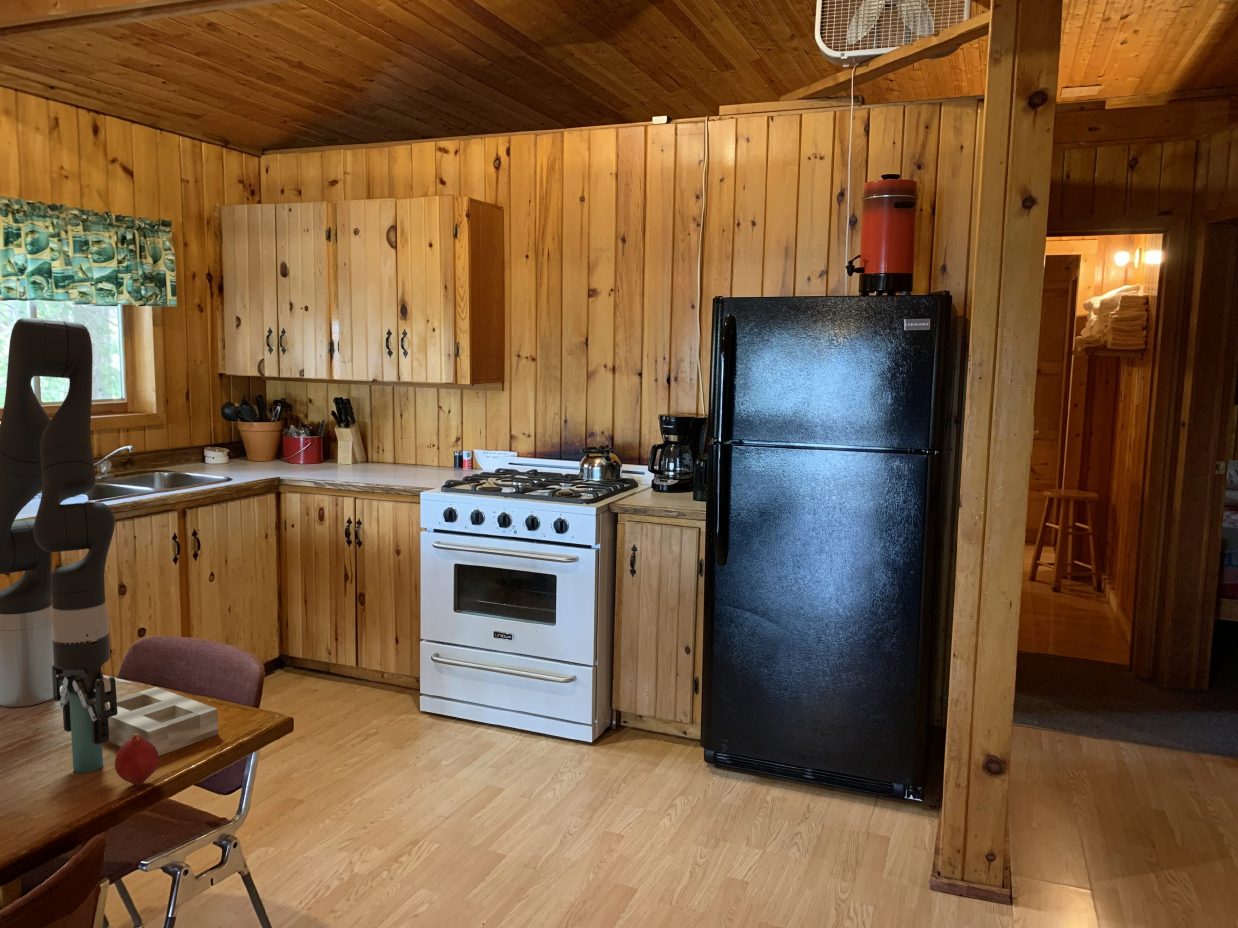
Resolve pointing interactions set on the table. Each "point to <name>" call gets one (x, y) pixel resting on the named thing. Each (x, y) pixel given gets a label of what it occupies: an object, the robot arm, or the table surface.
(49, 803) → the table surface
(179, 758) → the table surface
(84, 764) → the pin
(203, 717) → the hole board
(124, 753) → the onion
